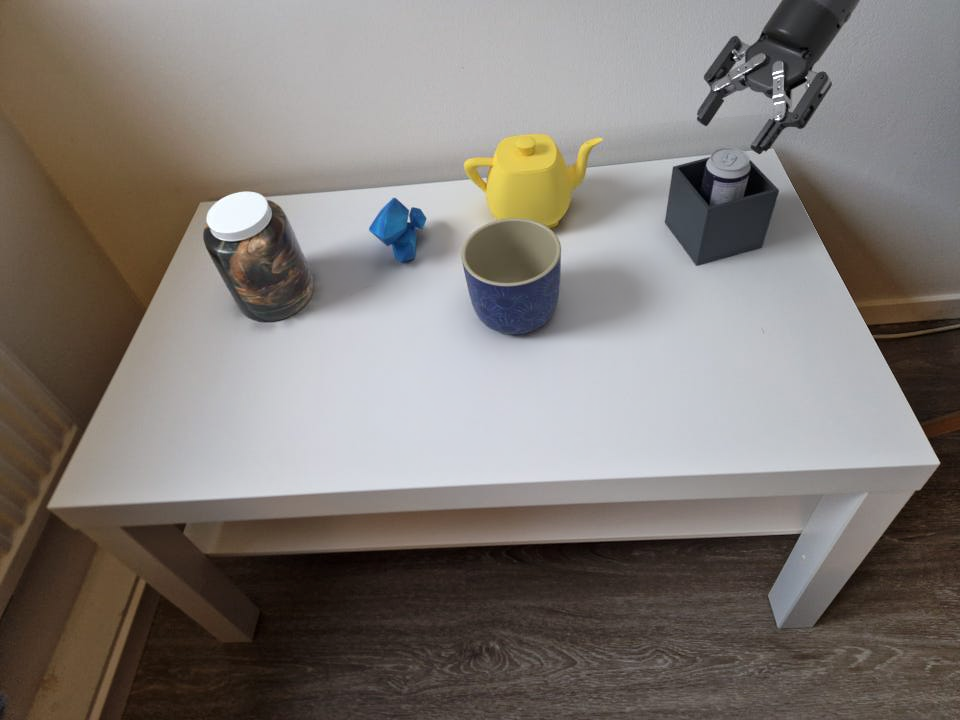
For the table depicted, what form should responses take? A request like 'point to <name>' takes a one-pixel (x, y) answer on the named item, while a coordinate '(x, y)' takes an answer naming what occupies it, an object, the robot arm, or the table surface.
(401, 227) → the crystal
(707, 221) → the trash bin
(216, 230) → the jar
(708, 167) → the beverage can
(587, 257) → the table surface
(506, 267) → the planter
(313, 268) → the table surface
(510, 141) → the teapot
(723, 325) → the table surface
